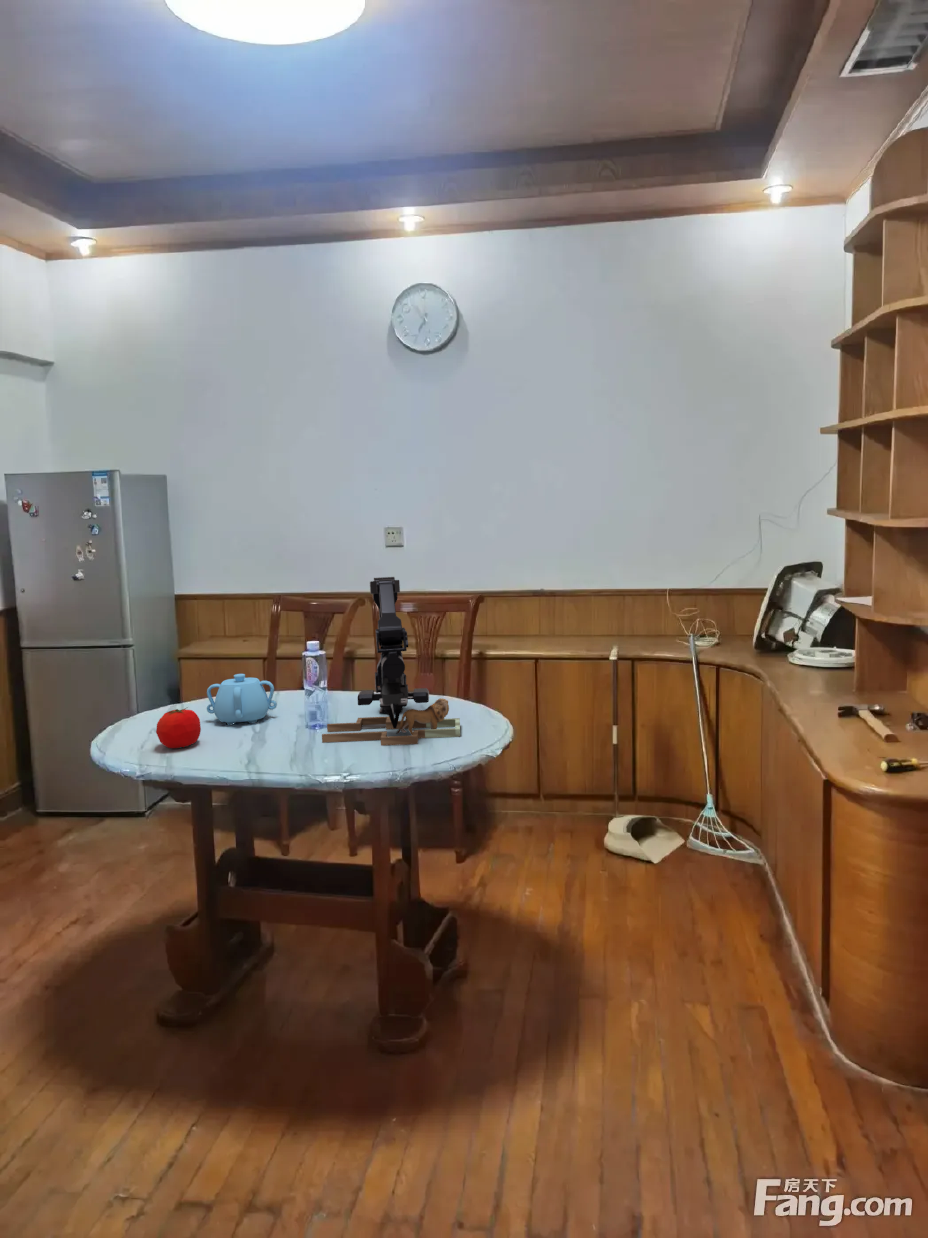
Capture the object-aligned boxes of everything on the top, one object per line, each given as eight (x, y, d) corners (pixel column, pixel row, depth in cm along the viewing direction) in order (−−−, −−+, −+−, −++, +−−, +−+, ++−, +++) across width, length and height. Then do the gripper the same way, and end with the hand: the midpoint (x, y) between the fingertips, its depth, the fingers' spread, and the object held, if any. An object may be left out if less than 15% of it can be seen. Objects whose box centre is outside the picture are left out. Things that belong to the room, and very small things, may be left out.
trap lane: (330, 725, 261) (330, 719, 260) (459, 720, 261) (459, 713, 261) (319, 748, 239) (318, 740, 239) (460, 742, 239) (460, 734, 239)
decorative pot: (252, 710, 283) (248, 666, 281) (282, 718, 272) (278, 672, 270) (203, 722, 272) (199, 676, 270) (233, 730, 260) (229, 682, 258)
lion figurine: (448, 728, 253) (446, 695, 252) (452, 733, 248) (450, 700, 247) (394, 733, 250) (392, 700, 249) (397, 738, 245) (395, 705, 244)
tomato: (213, 742, 249) (210, 704, 248) (176, 755, 239) (173, 716, 237) (183, 737, 255) (180, 700, 254) (146, 750, 244) (142, 712, 243)
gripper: (353, 678, 239) (357, 737, 242) (426, 675, 240) (429, 734, 242) (358, 669, 250) (361, 726, 253) (427, 667, 251) (430, 723, 253)
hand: (395, 728), depth 250 cm, fingers closed
